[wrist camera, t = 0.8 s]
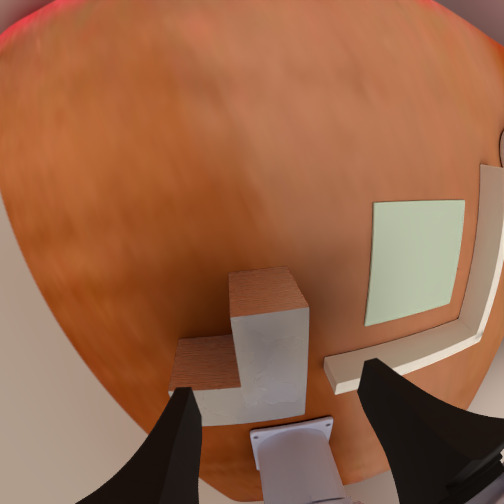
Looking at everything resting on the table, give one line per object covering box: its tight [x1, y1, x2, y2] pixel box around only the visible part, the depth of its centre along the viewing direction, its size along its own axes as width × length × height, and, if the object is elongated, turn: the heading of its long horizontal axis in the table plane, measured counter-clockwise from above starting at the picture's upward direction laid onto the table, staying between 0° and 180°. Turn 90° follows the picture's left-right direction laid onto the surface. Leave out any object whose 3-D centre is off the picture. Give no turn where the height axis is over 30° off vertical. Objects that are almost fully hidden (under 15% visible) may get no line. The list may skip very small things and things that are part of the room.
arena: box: [324, 164, 504, 395], centre depth 16 cm, size 16×16×3 cm
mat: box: [364, 200, 465, 326], centre depth 17 cm, size 9×9×1 cm
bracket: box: [168, 266, 309, 426], centre depth 15 cm, size 8×8×5 cm
